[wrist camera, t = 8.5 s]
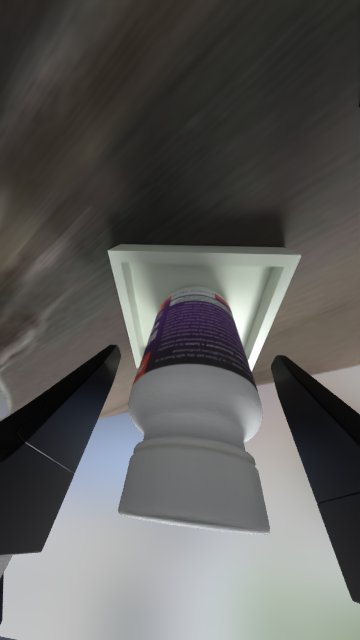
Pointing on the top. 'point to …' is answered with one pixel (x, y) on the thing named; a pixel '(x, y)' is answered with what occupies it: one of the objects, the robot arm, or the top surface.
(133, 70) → the top surface
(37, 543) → the robot arm
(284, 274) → the tray
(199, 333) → the pill bottle
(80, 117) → the top surface
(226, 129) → the top surface
